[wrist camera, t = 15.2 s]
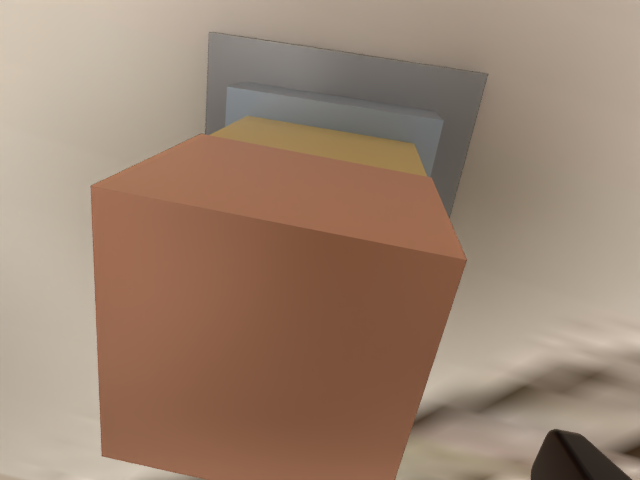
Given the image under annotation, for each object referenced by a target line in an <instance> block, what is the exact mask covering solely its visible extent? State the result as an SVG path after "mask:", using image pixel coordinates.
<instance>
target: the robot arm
mask: <svg viewBox="0 0 640 480" xmlns="http://www.w3.org/2000/svg"><path fill="white" fill-rule="evenodd" d="M531 480H632V479H631V478H630V477H629V476H627V475H626V474H625V473H624V472H623V471H622V470H621V469H620V468H618V467H617V466H616V465H615V464H614V463H613V462H612V461H611V460H610V459H608V458H607V457H606V456H605V455H604V454H603V453H602V452H601V451H600V450H598V449H597V448H596V447H595V446H594V445H593V444H592V443H591V442H589V441H588V440H587V439H586V438H585V437H584V436H582V435H581V434H578V433H574V432H569V431H564V430H559V429H553V430H551V431H549V432H548V434H547V435H546V437H545V439H544V442H543V444H542V446H541V448H540V450H539V453H538V455H537V457H536V459H535V461H534V464H533V466H532V470H531Z"/></svg>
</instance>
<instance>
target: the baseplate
mask: <svg viewBox="0 0 640 480" xmlns="http://www.w3.org/2000/svg"><path fill="white" fill-rule="evenodd" d="M487 76H488V74H486V73H480V72H473V71H467V70H460V69H453V68H447V67H440V66H433V65H427V64H420V63H413V62H407V61H400V60H394V59H387V58H380V57H374V56H367V55H360V54H354V53H347V52H340V51H334V50H327V49H321V48H314V47H307V46H301V45H294V44H287V43H281V42H274V41H267V40H261V39H254V38H247V37H241V36H234V35H228V34H221V33H214V32H209V45H208V73H207V101H206V128H205V135H210V134H212V133H214V132H216V131H218V130H220V129H222V128H224V127H226V126H228V125H230V124H232V123H234V122H236V121H238V120H240V119H242V118H244V117H246V116H253V117H259V118H265V119H271V120H277V121H283V122H289V123H295V124H301V125H307V126H313V127H319V128H325V129H331V130H337V131H343V132H349V133H355V134H361V135H367V136H373V137H379V138H385V139H391V140H397V141H403V142H409V143H414V144H415V147H416V149H417V152H418V154H419V157H420V159H421V162H422V164H423V167H424V169H425V172H426V174H427V177H431V178H432V180H433V182H434V184H435V187H436V189H437V191H438V194H439V196H440V198H441V201H442V203H443V205H444V208H445V210H446V212H447V215H448V217H449V218H450V214H451V210H452V207H453V203H454V199H455V196H456V192H457V188H458V184H459V181H460V177H461V173H462V169H463V166H464V162H465V158H466V155H467V151H468V147H469V143H470V140H471V136H472V132H473V129H474V125H475V121H476V117H477V114H478V110H479V106H480V102H481V99H482V95H483V91H484V88H485V84H486V80H487Z"/></svg>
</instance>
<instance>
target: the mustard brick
mask: <svg viewBox="0 0 640 480" xmlns="http://www.w3.org/2000/svg"><path fill="white" fill-rule="evenodd" d="M210 136H215V137H221V138H226V139H231V140H236V141H242V142H247V143H252V144H258V145H263V146H268V147H273V148H279V149H284V150H289V151H294V152H300V153H305V154H310V155H315V156H321V157H326V158H331V159H337V160H342V161H347V162H352V163H358V164H363V165H368V166H373V167H379V168H384V169H389V170H394V171H400V172H405V173H410V174H416V175H421V176H426V177H427V174H426V172H425V169H424V167H423V164H422V162H421V159H420V157H419V154H418V152H417V149H416V147H415V144H414V143H409V142H403V141H397V140H391V139H385V138H379V137H373V136H367V135H361V134H355V133H349V132H343V131H337V130H331V129H325V128H319V127H313V126H307V125H301V124H295V123H289V122H283V121H277V120H271V119H265V118H259V117H253V116H246V117H244V118H242V119H240V120H238V121H236V122H234V123H232V124H230V125H228V126H226V127H224V128H222V129H220V130H218V131H216V132H214V133H212V134H210Z"/></svg>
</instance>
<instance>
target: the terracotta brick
mask: <svg viewBox="0 0 640 480" xmlns="http://www.w3.org/2000/svg"><path fill="white" fill-rule="evenodd" d="M91 205H92V229H93V253H94V278H95V302H96V327H97V351H98V375H99V400H100V424H101V449H102V456H103V457H108V458H112V459H117V460H121V461H126V462H130V463H135V464H139V465H144V466H148V467H153V468H157V469H162V470H166V471H171V472H175V473H180V474H184V475H189V476H193V477H198V478H202V479H207V480H395V478H396V475H397V472H398V469H399V466H400V463H401V460H402V457H403V453H404V450H405V447H406V444H407V441H408V438H409V435H410V432H411V429H412V426H413V423H414V420H415V417H416V414H417V411H418V408H419V405H420V402H421V399H422V396H423V392H424V389H425V386H426V383H427V380H428V377H429V374H430V371H431V368H432V365H433V362H434V359H435V356H436V353H437V350H438V347H439V344H440V341H441V338H442V334H443V331H444V328H445V325H446V322H447V319H448V316H449V313H450V310H451V307H452V304H453V301H454V298H455V295H456V292H457V289H458V286H459V283H460V280H461V276H462V273H463V270H464V267H465V264H466V261H467V259H466V257H465V254H464V252H463V250H462V247H461V245H460V243H459V240H458V238H457V236H456V233H455V231H454V229H453V226H452V224H451V222H450V219H449V217H448V215H447V212H446V210H445V208H444V205H443V203H442V201H441V198H440V196H439V194H438V191H437V189H436V187H435V184H434V182H433V180H432V178H431V177H426V176H421V175H416V174H410V173H405V172H400V171H394V170H389V169H384V168H379V167H373V166H368V165H363V164H358V163H352V162H347V161H342V160H337V159H331V158H326V157H321V156H315V155H310V154H305V153H300V152H294V151H289V150H284V149H279V148H273V147H268V146H263V145H258V144H252V143H247V142H242V141H236V140H231V139H226V138H221V137H215V136H210V135H205V134H199V135H197V136H195V137H193V138H191V139H189V140H187V141H184V142H182V143H180V144H178V145H176V146H174V147H172V148H170V149H167V150H165V151H163V152H161V153H159V154H157V155H155V156H153V157H151V158H148V159H146V160H144V161H142V162H140V163H138V164H136V165H134V166H132V167H129V168H127V169H125V170H123V171H121V172H119V173H117V174H115V175H113V176H110V177H108V178H106V179H104V180H102V181H100V182H98V183H96V184H94V185H91Z"/></svg>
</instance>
